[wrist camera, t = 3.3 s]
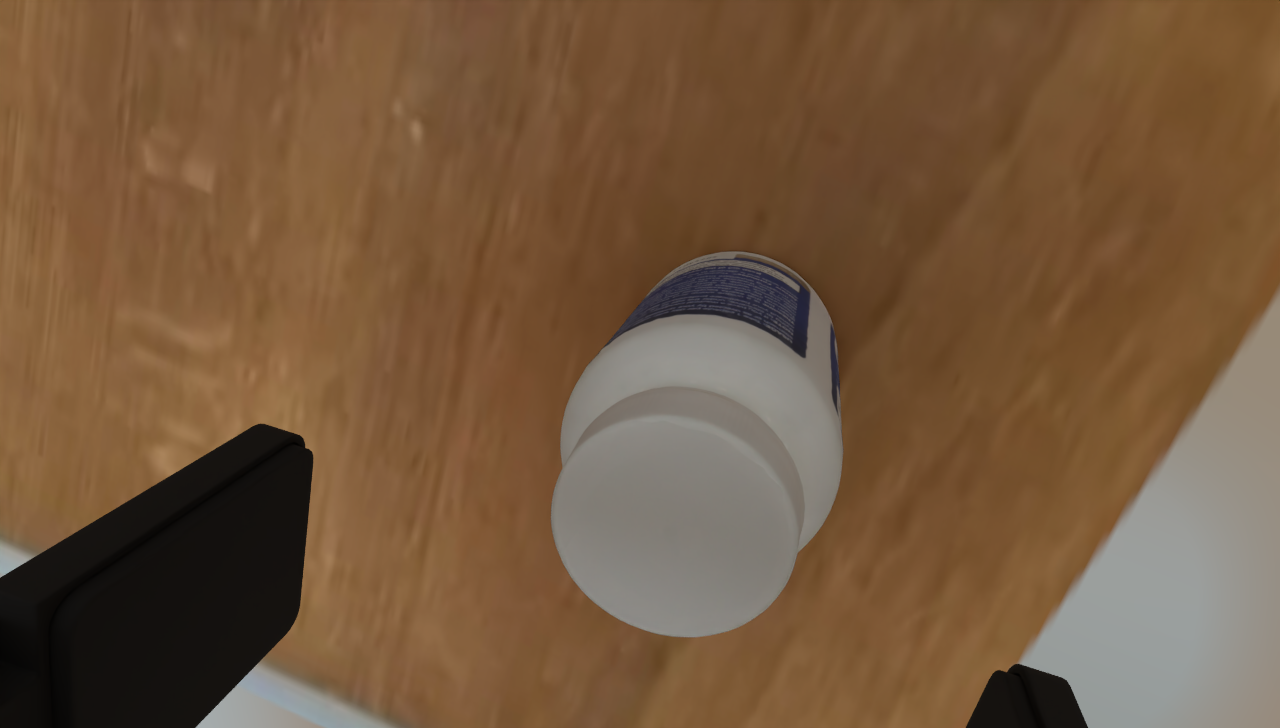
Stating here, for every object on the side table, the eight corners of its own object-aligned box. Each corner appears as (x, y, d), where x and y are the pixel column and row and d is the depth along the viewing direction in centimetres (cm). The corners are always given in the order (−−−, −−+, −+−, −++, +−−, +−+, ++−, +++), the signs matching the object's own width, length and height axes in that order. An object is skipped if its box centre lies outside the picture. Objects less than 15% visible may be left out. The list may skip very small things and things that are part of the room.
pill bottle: (597, 321, 22) (442, 483, 13) (758, 205, 20) (704, 302, 11) (712, 473, 23) (639, 722, 14) (878, 374, 21) (917, 591, 12)
